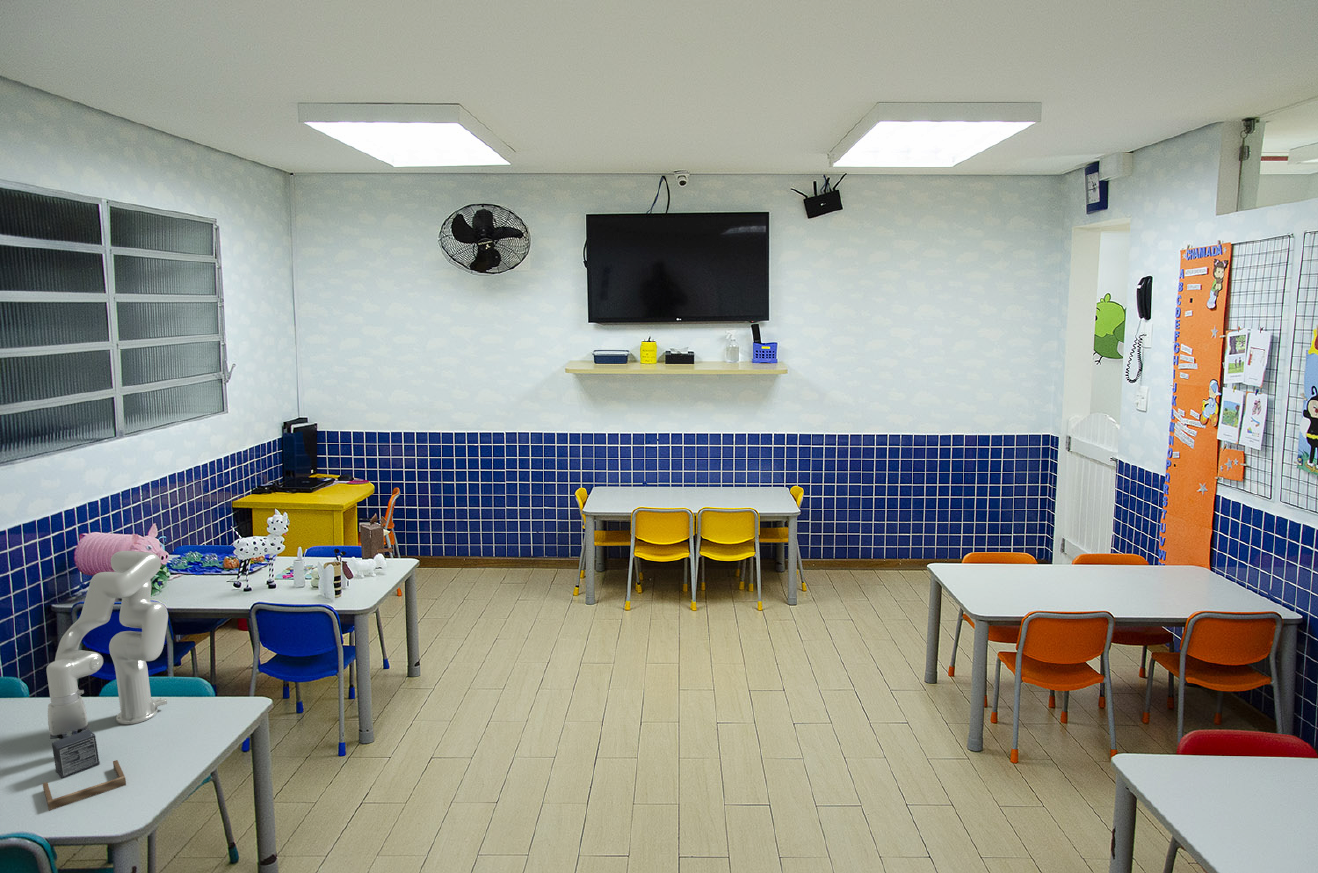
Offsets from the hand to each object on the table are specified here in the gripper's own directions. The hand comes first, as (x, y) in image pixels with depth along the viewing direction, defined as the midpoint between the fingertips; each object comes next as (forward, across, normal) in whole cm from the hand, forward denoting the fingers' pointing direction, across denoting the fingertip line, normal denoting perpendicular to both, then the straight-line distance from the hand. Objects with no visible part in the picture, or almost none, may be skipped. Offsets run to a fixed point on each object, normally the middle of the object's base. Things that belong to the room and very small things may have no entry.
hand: (71, 750), depth 276 cm
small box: (+2, 0, +11) cm, 11 cm away
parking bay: (+2, 0, +25) cm, 25 cm away
